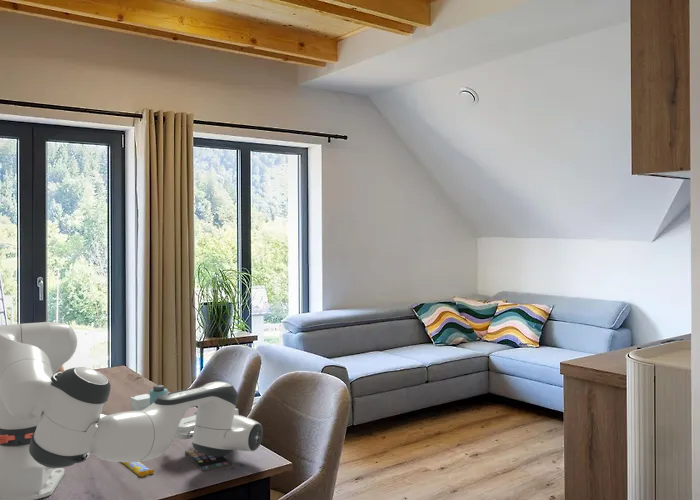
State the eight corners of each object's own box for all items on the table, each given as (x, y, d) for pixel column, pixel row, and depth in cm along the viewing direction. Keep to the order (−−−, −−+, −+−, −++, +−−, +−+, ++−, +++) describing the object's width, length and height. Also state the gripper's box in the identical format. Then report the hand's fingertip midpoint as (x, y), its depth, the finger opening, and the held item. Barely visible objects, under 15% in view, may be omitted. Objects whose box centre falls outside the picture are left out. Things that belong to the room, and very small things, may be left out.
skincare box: (155, 419, 211) (155, 396, 211) (137, 422, 207) (137, 400, 207) (147, 415, 215) (147, 393, 215) (130, 418, 211) (129, 396, 211)
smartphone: (202, 472, 165) (202, 468, 165) (184, 455, 178) (184, 450, 178) (232, 466, 169) (232, 462, 169) (212, 449, 182) (212, 445, 182)
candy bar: (155, 476, 163) (155, 468, 163) (139, 480, 160) (139, 472, 160) (131, 457, 176) (131, 451, 176) (116, 461, 174) (116, 454, 174)
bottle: (169, 437, 192) (168, 387, 191) (151, 440, 190) (150, 389, 189) (167, 432, 196) (166, 383, 196) (149, 435, 194) (148, 385, 194)
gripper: (186, 448, 170) (153, 438, 178) (242, 428, 186) (210, 420, 194) (186, 424, 169) (153, 415, 178) (242, 407, 186) (210, 399, 194)
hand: (183, 418), depth 186 cm, fingers open, 8 cm apart
